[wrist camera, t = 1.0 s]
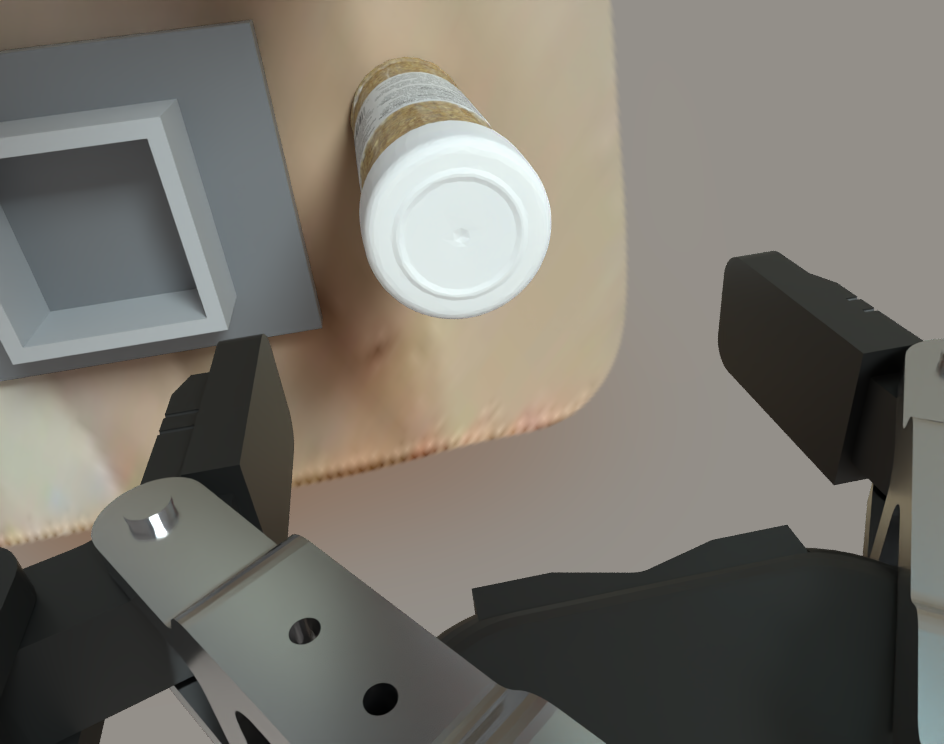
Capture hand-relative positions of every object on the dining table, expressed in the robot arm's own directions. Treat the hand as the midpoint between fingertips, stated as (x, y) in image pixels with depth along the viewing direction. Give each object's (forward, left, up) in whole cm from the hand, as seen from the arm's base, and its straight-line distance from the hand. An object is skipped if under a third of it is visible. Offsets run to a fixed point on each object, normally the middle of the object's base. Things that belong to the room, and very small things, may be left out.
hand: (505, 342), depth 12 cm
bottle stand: (+2, -12, -18) cm, 22 cm away
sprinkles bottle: (0, 0, -19) cm, 19 cm away
